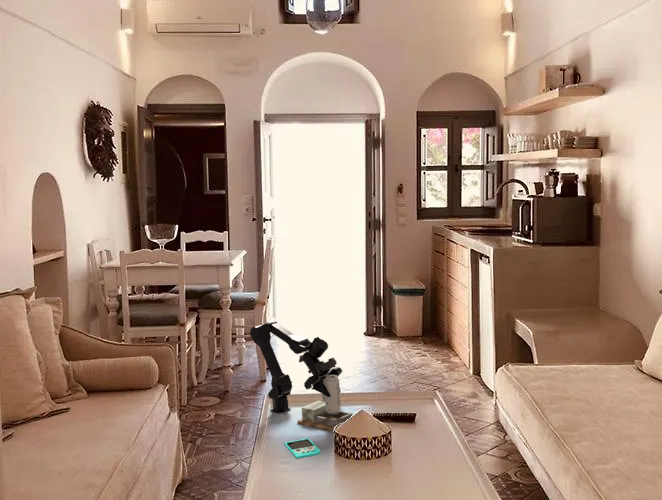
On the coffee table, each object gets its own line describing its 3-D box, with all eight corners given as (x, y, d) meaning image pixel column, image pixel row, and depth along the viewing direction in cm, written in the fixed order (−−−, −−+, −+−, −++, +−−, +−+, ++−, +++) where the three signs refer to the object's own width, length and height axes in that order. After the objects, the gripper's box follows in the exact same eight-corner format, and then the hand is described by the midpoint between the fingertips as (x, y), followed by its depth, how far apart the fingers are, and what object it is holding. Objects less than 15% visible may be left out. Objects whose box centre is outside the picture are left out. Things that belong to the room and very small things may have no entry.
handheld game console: (296, 459, 266) (295, 456, 266) (283, 445, 281) (283, 441, 281) (322, 455, 270) (322, 451, 269) (308, 440, 285) (308, 437, 284)
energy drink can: (326, 409, 304) (324, 374, 303) (340, 409, 304) (339, 374, 302) (325, 414, 298) (323, 378, 297) (340, 414, 298) (338, 378, 296)
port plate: (297, 423, 303) (296, 409, 303) (322, 412, 316) (321, 398, 315) (335, 432, 291) (334, 417, 290) (359, 420, 303) (358, 406, 302)
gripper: (308, 357, 294) (329, 389, 288) (338, 347, 308) (359, 377, 302) (294, 373, 300) (315, 404, 294) (325, 363, 314) (345, 393, 308)
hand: (334, 394), depth 299 cm, fingers closed on energy drink can, 6 cm apart
